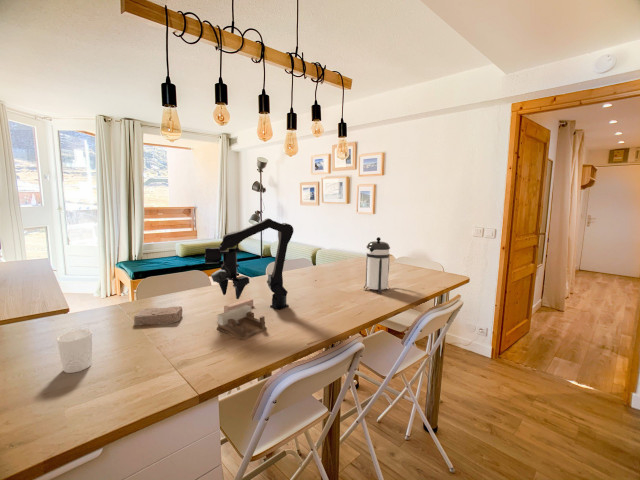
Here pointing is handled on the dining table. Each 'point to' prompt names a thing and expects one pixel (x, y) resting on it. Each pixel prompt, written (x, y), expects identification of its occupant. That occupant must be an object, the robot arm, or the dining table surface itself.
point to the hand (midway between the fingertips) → (230, 296)
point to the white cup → (75, 350)
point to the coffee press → (377, 265)
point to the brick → (158, 315)
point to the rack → (243, 326)
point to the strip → (233, 314)
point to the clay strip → (238, 304)
